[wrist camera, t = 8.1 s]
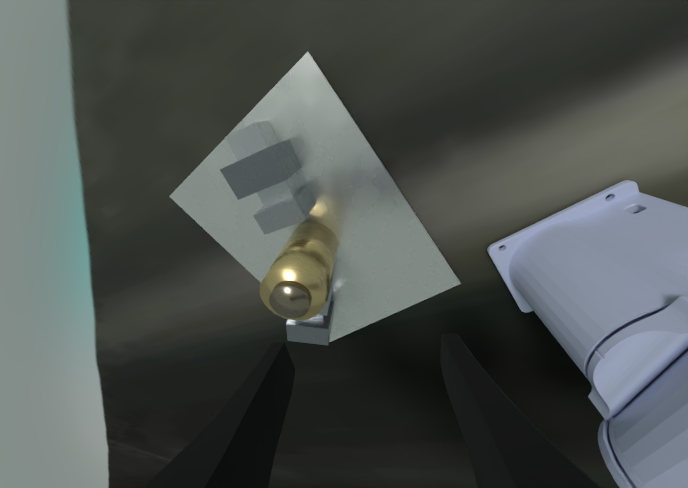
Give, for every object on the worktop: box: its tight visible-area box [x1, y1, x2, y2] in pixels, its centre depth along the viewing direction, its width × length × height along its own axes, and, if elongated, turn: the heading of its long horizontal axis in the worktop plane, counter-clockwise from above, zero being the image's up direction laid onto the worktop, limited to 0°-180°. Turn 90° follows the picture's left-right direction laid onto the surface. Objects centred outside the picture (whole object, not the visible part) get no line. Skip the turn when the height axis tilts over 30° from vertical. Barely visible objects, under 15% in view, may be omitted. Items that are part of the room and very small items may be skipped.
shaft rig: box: [170, 52, 461, 345], centre depth 19 cm, size 15×20×4 cm
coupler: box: [260, 222, 338, 320], centre depth 17 cm, size 4×4×7 cm
